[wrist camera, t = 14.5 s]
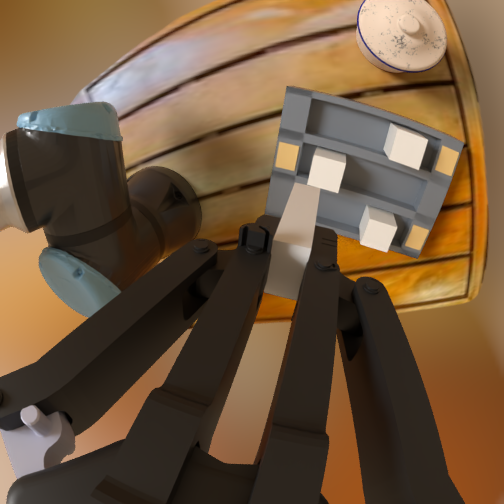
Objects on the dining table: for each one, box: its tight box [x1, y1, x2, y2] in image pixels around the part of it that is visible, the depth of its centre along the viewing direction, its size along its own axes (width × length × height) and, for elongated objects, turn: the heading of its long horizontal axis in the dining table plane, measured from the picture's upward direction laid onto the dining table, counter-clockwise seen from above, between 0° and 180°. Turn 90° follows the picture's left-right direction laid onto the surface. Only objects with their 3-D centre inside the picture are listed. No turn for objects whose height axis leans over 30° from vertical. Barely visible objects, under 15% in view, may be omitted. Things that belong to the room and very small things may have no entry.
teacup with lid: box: [356, 0, 447, 73], centre depth 20 cm, size 12×9×12 cm
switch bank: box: [265, 86, 464, 259], centre depth 34 cm, size 22×17×4 cm
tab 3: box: [383, 123, 428, 170], centre depth 29 cm, size 4×4×5 cm
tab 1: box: [307, 146, 346, 193], centre depth 33 cm, size 4×4×5 cm
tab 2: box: [359, 204, 397, 252], centre depth 35 cm, size 4×4×5 cm
